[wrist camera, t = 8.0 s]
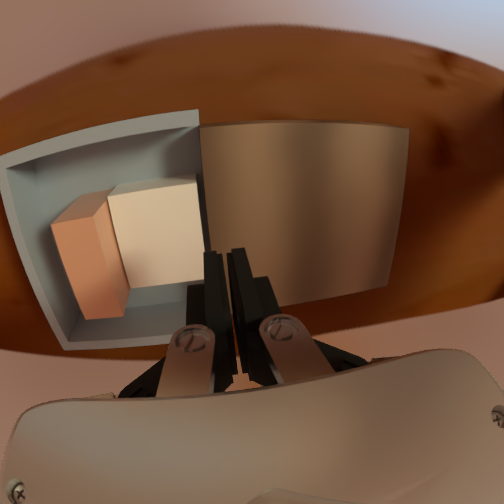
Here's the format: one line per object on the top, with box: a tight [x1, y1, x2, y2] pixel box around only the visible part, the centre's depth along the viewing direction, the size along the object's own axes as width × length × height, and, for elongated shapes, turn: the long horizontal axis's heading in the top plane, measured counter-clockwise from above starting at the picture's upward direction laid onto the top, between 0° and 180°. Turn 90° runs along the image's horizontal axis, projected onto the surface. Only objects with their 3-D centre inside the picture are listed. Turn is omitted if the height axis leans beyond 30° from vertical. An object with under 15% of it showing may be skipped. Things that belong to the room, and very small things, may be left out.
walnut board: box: [198, 120, 409, 315], centre depth 19 cm, size 13×12×3 cm
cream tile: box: [107, 173, 205, 288], centre depth 17 cm, size 5×6×2 cm
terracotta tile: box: [51, 189, 130, 320], centre depth 16 cm, size 5×6×2 cm
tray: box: [0, 109, 211, 350], centre depth 17 cm, size 12×14×4 cm
